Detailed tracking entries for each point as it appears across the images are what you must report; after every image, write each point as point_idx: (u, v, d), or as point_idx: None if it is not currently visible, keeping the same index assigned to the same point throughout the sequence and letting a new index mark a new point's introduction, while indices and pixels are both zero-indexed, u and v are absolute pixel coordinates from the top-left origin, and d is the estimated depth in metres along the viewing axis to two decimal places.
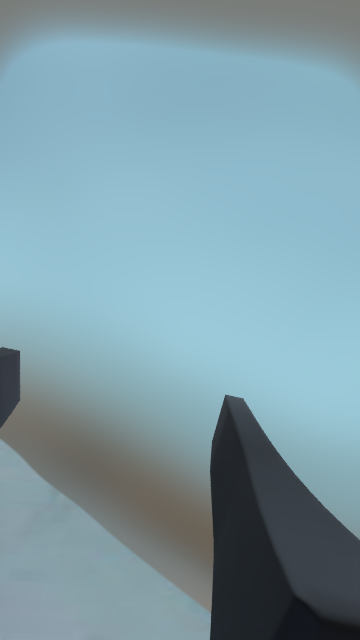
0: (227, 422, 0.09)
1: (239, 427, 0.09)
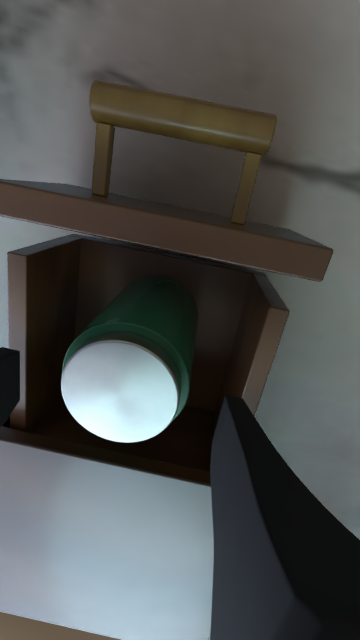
0: (227, 422, 0.09)
1: (239, 427, 0.09)
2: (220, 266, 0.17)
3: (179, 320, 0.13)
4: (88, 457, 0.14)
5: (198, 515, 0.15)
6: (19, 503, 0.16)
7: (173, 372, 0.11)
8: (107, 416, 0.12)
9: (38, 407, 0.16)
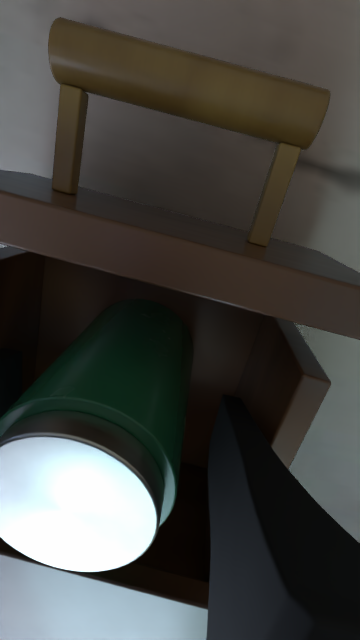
0: (224, 421, 0.09)
1: (236, 426, 0.09)
2: None
3: (167, 378, 0.09)
4: (30, 558, 0.10)
5: (180, 638, 0.11)
6: None
7: (151, 485, 0.07)
8: (47, 536, 0.07)
9: None
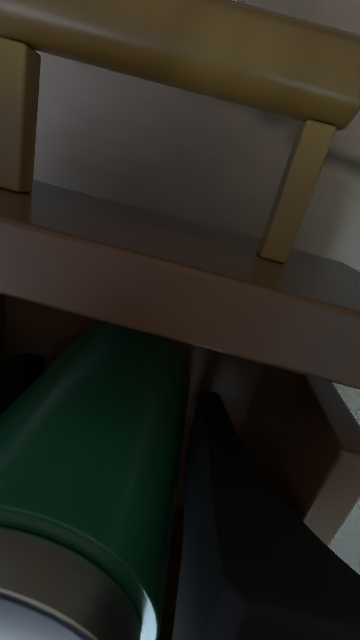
0: (199, 416, 0.09)
1: (208, 420, 0.09)
2: None
3: (151, 441, 0.07)
4: None
5: None
6: None
7: None
8: None
9: None
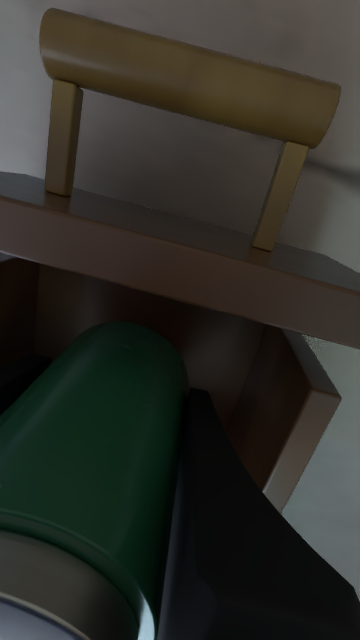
0: (187, 413, 0.09)
1: (195, 418, 0.09)
2: None
3: (149, 443, 0.07)
4: None
5: None
6: None
7: None
8: None
9: None
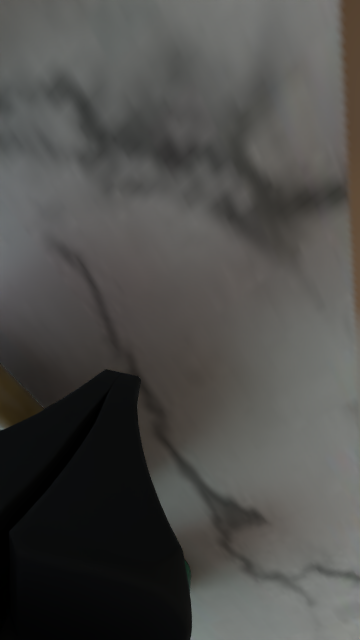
0: None
1: (109, 399, 0.09)
2: None
3: None
4: None
5: None
6: None
7: None
8: None
9: None
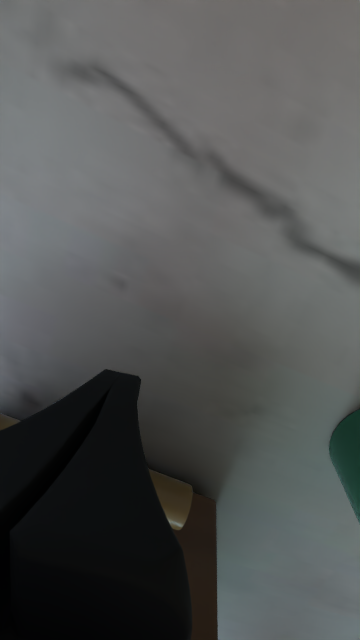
0: None
1: (109, 399, 0.09)
2: None
3: None
4: None
5: None
6: None
7: None
8: None
9: None
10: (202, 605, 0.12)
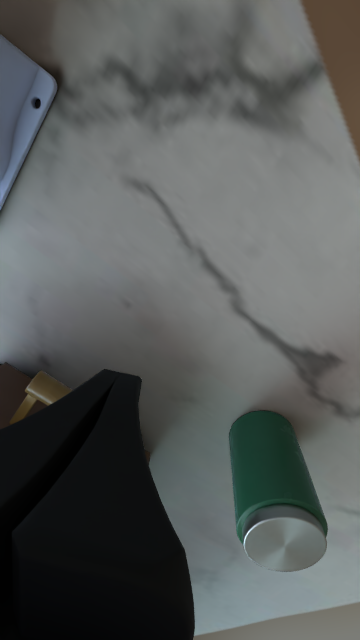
0: None
1: (110, 399, 0.09)
2: None
3: (310, 478, 0.19)
4: None
5: None
6: None
7: None
8: (270, 555, 0.17)
9: None
10: None
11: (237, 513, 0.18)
